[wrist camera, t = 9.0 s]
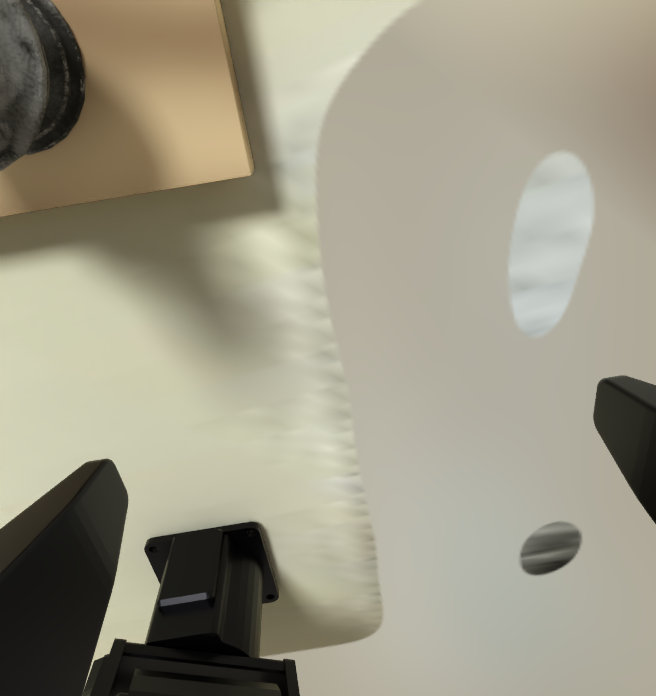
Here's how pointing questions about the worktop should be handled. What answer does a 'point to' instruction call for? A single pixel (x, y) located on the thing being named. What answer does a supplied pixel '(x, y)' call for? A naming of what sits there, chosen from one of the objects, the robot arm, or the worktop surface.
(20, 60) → the salt shaker
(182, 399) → the worktop surface
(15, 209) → the dock
